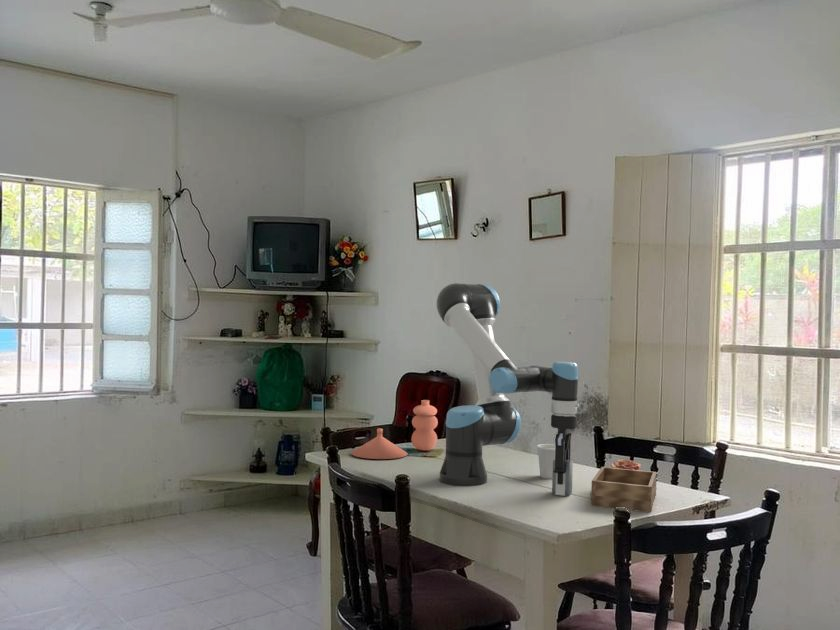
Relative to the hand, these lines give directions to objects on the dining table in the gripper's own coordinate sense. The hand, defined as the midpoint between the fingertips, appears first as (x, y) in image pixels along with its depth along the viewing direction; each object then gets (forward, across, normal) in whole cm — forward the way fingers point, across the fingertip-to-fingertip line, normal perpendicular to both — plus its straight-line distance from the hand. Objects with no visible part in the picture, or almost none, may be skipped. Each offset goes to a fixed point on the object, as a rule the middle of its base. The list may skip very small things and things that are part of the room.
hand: (562, 492), depth 221 cm
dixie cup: (0, +21, +8) cm, 23 cm away
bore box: (0, 0, -18) cm, 18 cm away
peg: (0, 0, 0) cm, 0 cm away
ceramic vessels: (+1, +37, +69) cm, 78 cm away
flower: (+1, +21, -16) cm, 26 cm away
